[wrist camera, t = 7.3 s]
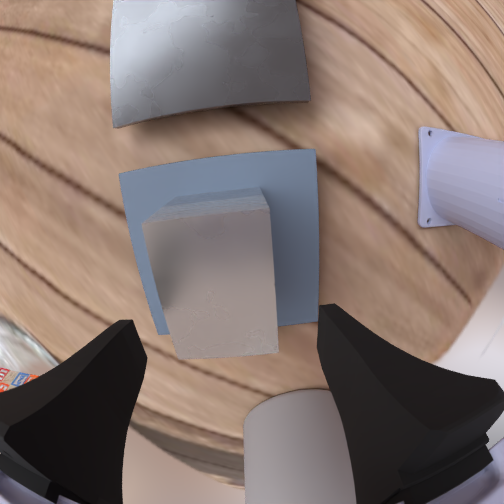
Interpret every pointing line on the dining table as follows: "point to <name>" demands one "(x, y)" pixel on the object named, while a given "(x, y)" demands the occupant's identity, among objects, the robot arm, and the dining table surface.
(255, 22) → the stand
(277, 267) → the stand
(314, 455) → the cylinder vase
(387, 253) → the dining table surface
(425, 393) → the robot arm
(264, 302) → the block
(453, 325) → the dining table surface
